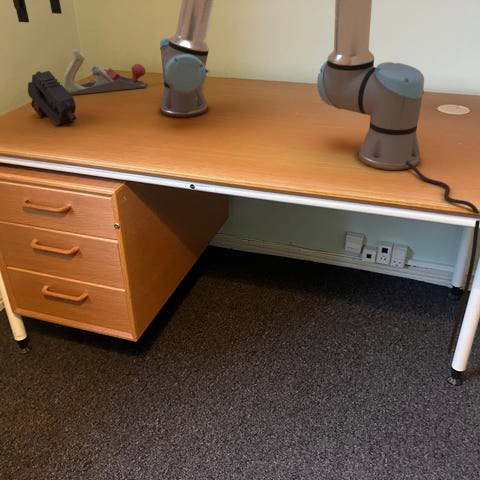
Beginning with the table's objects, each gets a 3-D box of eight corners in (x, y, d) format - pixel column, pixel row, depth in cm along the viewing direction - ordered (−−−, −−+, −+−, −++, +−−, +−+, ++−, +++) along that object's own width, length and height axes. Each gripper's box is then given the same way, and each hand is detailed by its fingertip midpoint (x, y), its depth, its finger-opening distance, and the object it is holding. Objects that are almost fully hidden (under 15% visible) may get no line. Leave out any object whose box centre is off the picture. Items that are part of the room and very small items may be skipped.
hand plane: (62, 90, 197) (53, 48, 189) (145, 82, 205) (140, 41, 197) (62, 96, 191) (54, 53, 184) (148, 87, 199) (143, 45, 191)
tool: (41, 101, 176) (45, 64, 165) (76, 140, 172) (84, 104, 161) (24, 106, 172) (28, 69, 162) (60, 145, 168) (67, 110, 157)
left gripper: (42, -76, 142) (58, 9, 153) (-28, -73, 122) (-4, 25, 134) (65, -77, 140) (80, 10, 151) (-2, -73, 120) (21, 26, 131)
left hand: (41, 17), depth 142 cm, fingers open, 13 cm apart
